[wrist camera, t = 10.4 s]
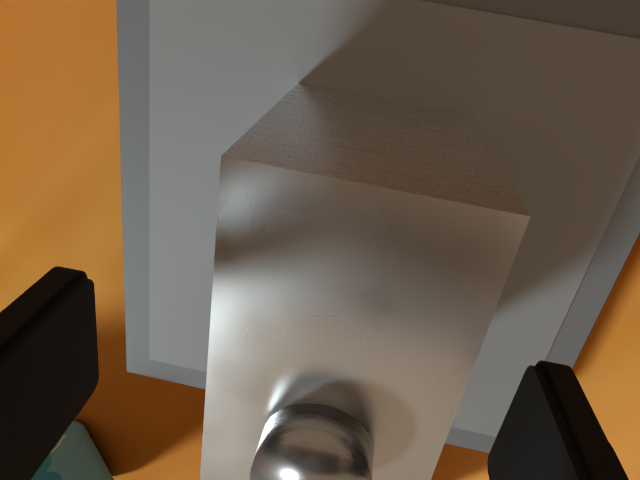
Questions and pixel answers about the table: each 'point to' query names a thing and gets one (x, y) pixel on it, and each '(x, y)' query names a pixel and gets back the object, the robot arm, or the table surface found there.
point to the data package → (74, 458)
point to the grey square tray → (401, 85)
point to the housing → (351, 287)
